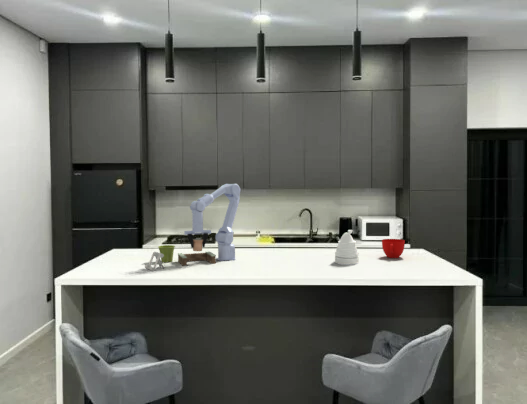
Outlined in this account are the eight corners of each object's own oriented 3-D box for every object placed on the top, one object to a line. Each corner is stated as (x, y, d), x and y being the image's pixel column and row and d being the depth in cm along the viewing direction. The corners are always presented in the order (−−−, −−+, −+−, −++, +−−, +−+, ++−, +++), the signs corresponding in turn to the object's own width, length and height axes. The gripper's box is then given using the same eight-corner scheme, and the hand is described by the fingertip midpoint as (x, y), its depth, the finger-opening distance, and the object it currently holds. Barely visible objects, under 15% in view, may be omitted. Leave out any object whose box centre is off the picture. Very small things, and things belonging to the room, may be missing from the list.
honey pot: (360, 261, 253) (361, 229, 252) (355, 265, 241) (355, 231, 241) (338, 259, 258) (338, 228, 258) (332, 263, 247) (332, 230, 246)
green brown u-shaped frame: (209, 259, 262) (209, 251, 262) (215, 263, 249) (215, 255, 249) (177, 261, 255) (177, 253, 255) (182, 265, 242) (182, 257, 242)
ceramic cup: (379, 259, 259) (379, 241, 259) (383, 254, 275) (383, 238, 274) (402, 260, 254) (403, 243, 254) (405, 256, 270) (405, 239, 270)
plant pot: (171, 263, 249) (171, 247, 249) (155, 262, 251) (155, 247, 251) (177, 260, 259) (177, 245, 258) (162, 259, 261) (162, 245, 260)
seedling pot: (201, 249, 252) (201, 238, 251) (203, 251, 246) (204, 240, 246) (191, 249, 250) (191, 238, 249) (193, 251, 244) (193, 240, 244)
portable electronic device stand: (144, 268, 235) (144, 252, 235) (158, 266, 240) (158, 251, 240) (151, 271, 228) (151, 254, 228) (165, 269, 233) (165, 253, 233)
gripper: (208, 221, 254) (209, 245, 254) (183, 222, 248) (183, 247, 249) (211, 222, 247) (212, 247, 248) (185, 223, 242) (185, 248, 242)
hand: (197, 247), depth 248 cm, fingers closed on seedling pot, 6 cm apart
